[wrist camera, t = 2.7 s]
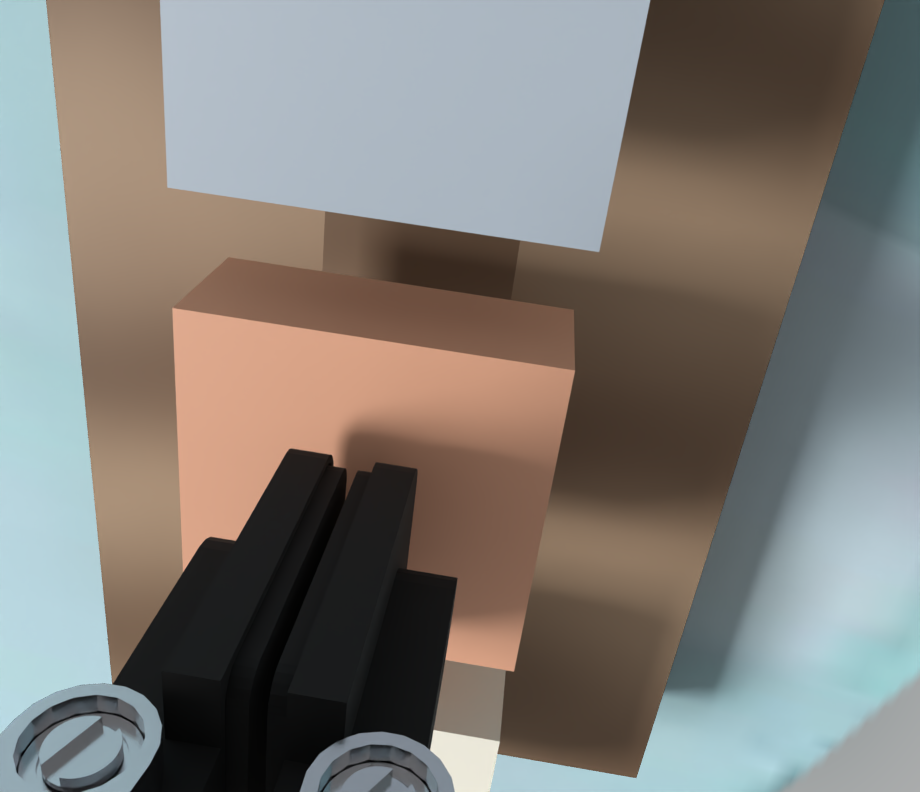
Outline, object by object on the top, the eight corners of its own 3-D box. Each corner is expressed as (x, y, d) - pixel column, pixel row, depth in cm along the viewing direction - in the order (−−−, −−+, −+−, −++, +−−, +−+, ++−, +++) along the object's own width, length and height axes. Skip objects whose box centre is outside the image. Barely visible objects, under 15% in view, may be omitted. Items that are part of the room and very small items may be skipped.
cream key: (273, 521, 18) (187, 686, 14) (514, 561, 17) (499, 741, 13) (269, 695, 20) (195, 880, 16) (482, 732, 20) (461, 930, 16)
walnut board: (106, -263, 13) (17, -305, 11) (879, -164, 13) (944, -187, 11) (158, 612, 22) (112, 686, 20) (628, 692, 21) (636, 777, 19)
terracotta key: (279, 210, 15) (171, 308, 11) (572, 254, 14) (575, 370, 10) (274, 459, 17) (185, 615, 13) (526, 500, 17) (514, 672, 13)
